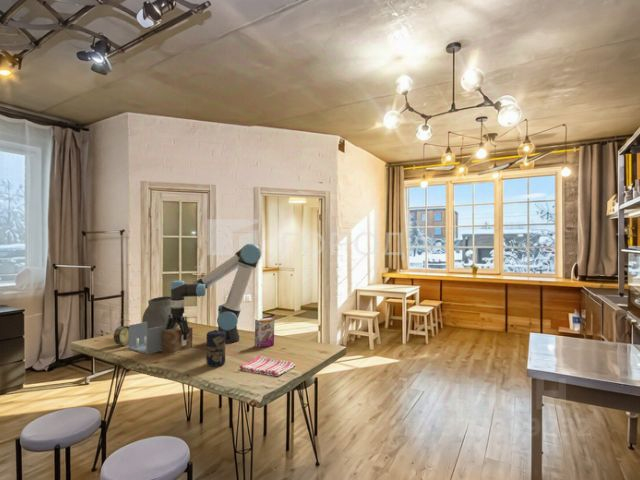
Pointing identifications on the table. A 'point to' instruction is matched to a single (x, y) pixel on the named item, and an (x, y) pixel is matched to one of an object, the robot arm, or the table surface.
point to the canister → (215, 348)
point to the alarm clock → (121, 335)
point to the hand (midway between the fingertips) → (177, 343)
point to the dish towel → (267, 366)
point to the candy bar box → (264, 332)
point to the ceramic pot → (158, 312)
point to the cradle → (145, 338)
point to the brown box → (175, 340)
